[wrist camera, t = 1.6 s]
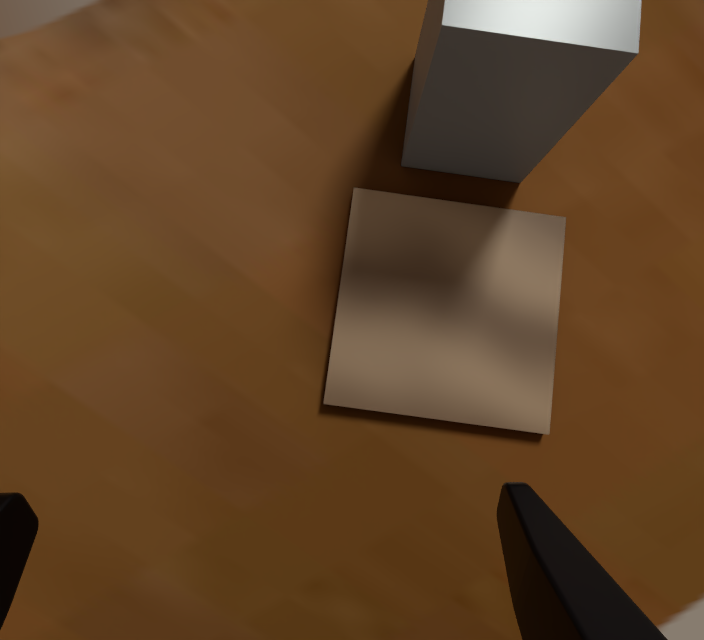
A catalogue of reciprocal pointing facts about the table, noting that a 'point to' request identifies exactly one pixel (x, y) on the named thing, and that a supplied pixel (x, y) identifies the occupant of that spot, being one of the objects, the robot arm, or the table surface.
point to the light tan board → (447, 311)
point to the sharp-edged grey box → (510, 79)
